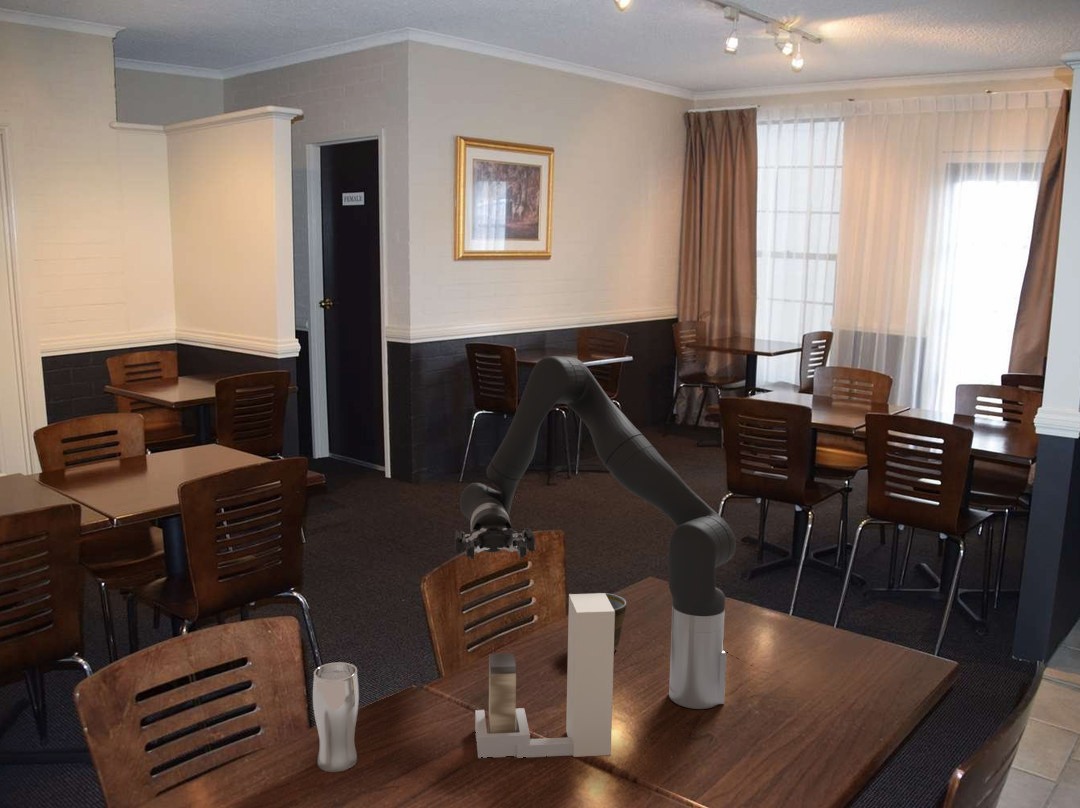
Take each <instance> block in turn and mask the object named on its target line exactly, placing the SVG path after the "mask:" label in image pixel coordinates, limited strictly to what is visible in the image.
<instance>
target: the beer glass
mask: <svg viewBox="0 0 1080 808" xmlns="http://www.w3.org/2000/svg"><path fill="white" fill-rule="evenodd" d="M312 681H313V682H312V683H313V684H312V706H313V707H312V708H313V713H314V719H315V724H316V730H317V733H318V740H319V744H318V745H319V747H318V748H319V749H318V755H317V759H316V761H317V763H316V764H317V766H318V768H319V769H320V770H321V771H324V772H328V773H340V772H344V771H345V772H346V771H347V770H349V768H350V769H351V768H353V767H354V766H355V765H356V763H357V762H358V754H357V749H356V747H355V746H356V745H355V732H356V726H357V725H356V724H357V720H358V714H359V703H360V687H359V677H358V667H357V666H356V665H354V664H352V663H348V662H345V661H344V662H342V661H339V662H330V663H329V662H328V663H325V664H322V665H320V666H318V667H317V668H315V669H314V671H313V680H312Z"/></svg>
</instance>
